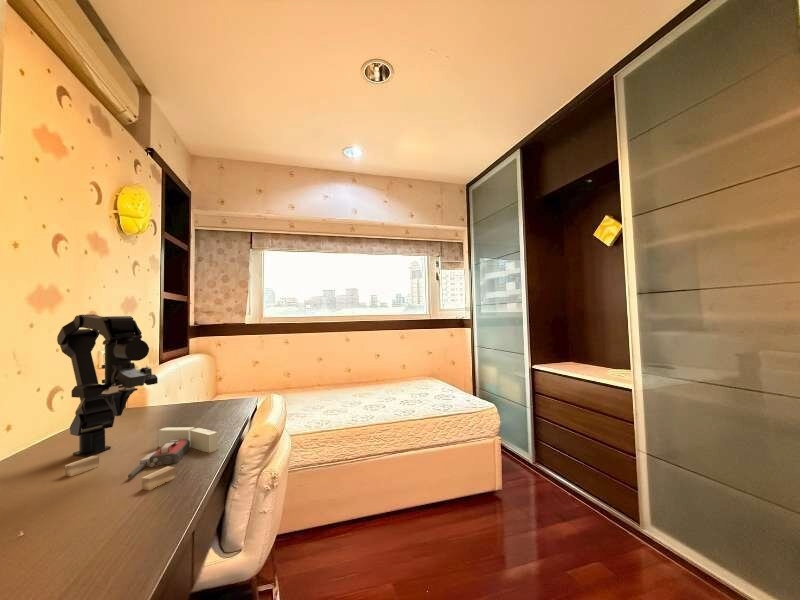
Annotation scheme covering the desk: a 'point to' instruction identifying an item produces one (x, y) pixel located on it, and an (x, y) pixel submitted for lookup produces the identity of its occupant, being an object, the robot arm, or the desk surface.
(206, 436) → the white long angled block
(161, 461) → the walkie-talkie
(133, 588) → the desk surface
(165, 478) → the guide blocks
